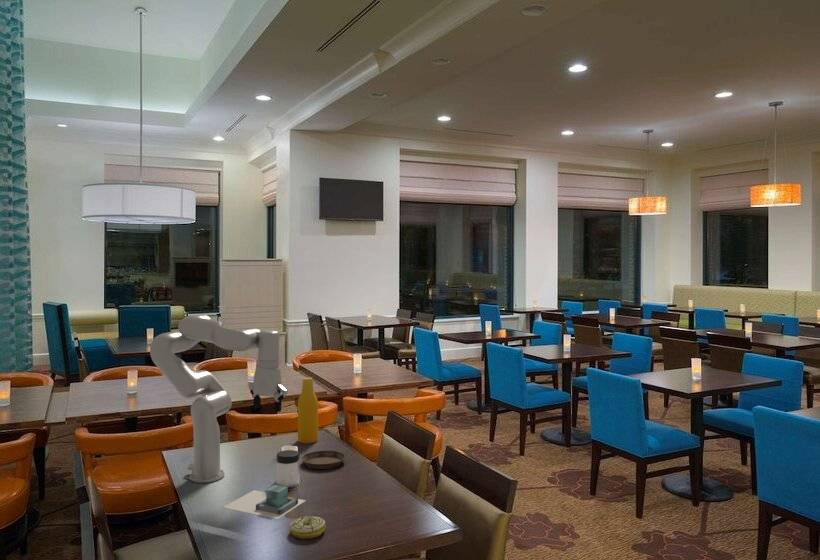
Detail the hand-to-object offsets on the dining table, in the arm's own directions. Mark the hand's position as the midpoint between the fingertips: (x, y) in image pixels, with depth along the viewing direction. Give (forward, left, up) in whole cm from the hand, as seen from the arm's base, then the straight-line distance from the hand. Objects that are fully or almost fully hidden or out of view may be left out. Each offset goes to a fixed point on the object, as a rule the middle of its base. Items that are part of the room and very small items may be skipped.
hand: (267, 410), depth 219 cm
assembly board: (+13, -18, -28) cm, 35 cm away
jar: (+8, +2, -28) cm, 29 cm away
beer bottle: (-16, +51, -28) cm, 60 cm away
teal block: (+18, -18, -26) cm, 36 cm away
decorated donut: (+36, -27, -28) cm, 53 cm away
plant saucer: (+7, +28, -28) cm, 40 cm away
